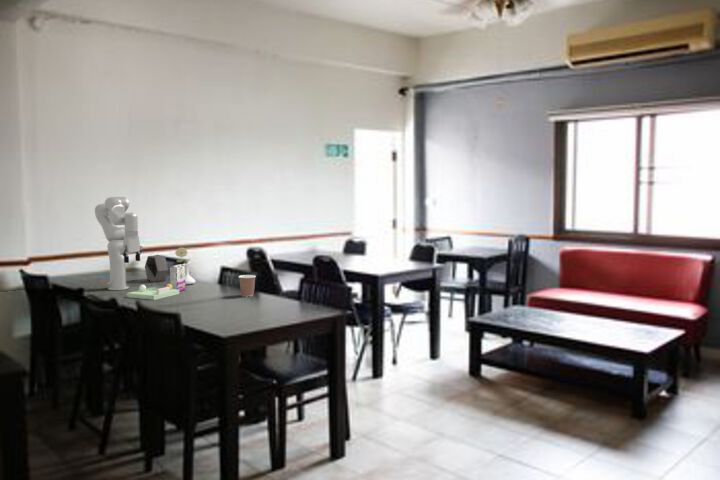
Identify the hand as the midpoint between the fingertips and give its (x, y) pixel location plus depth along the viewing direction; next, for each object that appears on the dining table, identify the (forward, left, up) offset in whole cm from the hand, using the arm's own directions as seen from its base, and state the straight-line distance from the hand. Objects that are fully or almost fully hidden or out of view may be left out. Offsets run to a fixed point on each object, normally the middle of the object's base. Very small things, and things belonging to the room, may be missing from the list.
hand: (132, 261), depth 377 cm
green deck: (+14, +2, -20) cm, 24 cm away
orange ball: (+21, +8, -18) cm, 29 cm away
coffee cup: (+67, +25, -20) cm, 74 cm away
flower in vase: (+4, +44, -20) cm, 48 cm away
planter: (-24, +47, -20) cm, 56 cm away
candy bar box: (+18, +20, -20) cm, 34 cm away
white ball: (+8, 0, -18) cm, 19 cm away
